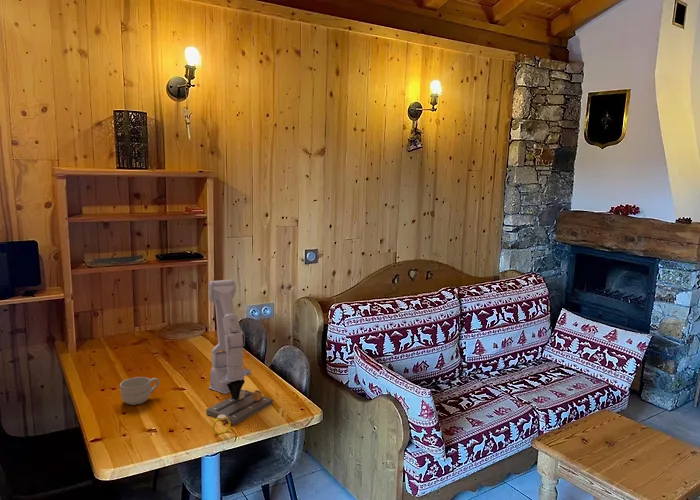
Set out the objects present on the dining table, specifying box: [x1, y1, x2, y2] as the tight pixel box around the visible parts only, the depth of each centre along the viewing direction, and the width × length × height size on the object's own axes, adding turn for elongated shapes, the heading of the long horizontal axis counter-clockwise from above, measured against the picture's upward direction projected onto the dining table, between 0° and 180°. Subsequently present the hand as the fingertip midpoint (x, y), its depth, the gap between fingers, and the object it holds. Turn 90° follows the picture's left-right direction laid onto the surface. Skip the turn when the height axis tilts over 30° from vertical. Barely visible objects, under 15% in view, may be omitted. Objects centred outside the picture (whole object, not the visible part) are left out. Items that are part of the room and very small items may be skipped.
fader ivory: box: [238, 388, 245, 400], centre depth 196 cm, size 2×2×3 cm
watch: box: [211, 415, 232, 435], centre depth 175 cm, size 6×3×6 cm, turn 122°
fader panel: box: [205, 389, 274, 426], centre depth 192 cm, size 14×20×2 cm
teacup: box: [119, 376, 160, 406], centre depth 196 cm, size 14×11×8 cm
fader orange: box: [253, 389, 263, 401], centre depth 195 cm, size 2×2×3 cm
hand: (235, 398), depth 194 cm, fingers closed
